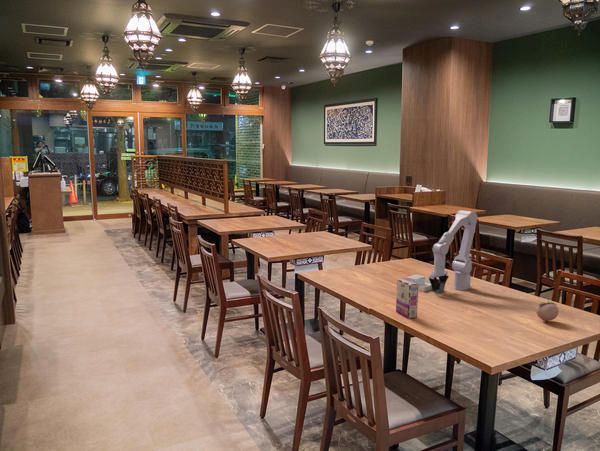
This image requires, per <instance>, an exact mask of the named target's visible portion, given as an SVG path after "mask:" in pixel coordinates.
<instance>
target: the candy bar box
mask: <svg viewBox="0 0 600 451" xmlns="http://www.w3.org/2000/svg"><path fill="white" fill-rule="evenodd" d="M395 301H396V305H395V312H396V313H397V314H400V315H401V316H403V317H405V318H406V319H409V320H411V319H417V318H418V301H419V291H418V284H417V283H415V282H412V281H410V280H408V279H406V278H397V282H396V300H395Z"/></svg>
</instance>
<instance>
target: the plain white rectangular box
mask: <svg viewBox="0 0 600 451" xmlns="http://www.w3.org/2000/svg"><path fill="white" fill-rule="evenodd" d="M425 278H426V276H425V275H420V274H412V275H410V276H406V277H405V279H408V280H410V281H412V282H415V283H417V284H418V286H420V285H423V284H425Z"/></svg>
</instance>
